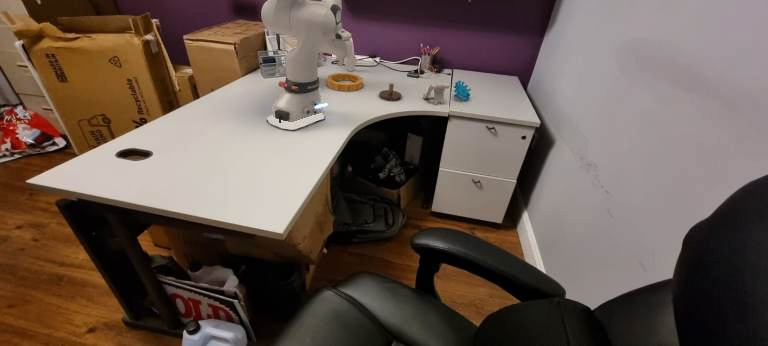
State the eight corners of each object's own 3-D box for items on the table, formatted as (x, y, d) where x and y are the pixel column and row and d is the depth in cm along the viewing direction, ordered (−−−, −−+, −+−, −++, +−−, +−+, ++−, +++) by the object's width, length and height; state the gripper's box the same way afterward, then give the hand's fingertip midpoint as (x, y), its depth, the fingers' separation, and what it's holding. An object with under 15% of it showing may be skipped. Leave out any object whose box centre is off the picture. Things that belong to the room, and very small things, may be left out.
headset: (357, 71, 173) (359, 36, 163) (345, 72, 170) (345, 36, 160) (344, 60, 187) (344, 27, 177) (332, 61, 185) (332, 27, 174)
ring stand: (395, 102, 142) (396, 89, 139) (375, 97, 146) (376, 84, 142) (404, 96, 149) (406, 83, 146) (385, 90, 153) (386, 78, 150)
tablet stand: (439, 96, 152) (442, 79, 147) (447, 103, 146) (451, 85, 141) (422, 98, 149) (425, 80, 144) (430, 104, 143) (433, 86, 138)
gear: (459, 100, 146) (453, 79, 147) (450, 105, 151) (444, 85, 152) (475, 99, 152) (469, 79, 153) (466, 104, 157) (460, 85, 158)
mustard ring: (350, 93, 146) (350, 87, 145) (320, 85, 152) (320, 79, 151) (368, 84, 159) (368, 78, 157) (340, 76, 165) (340, 70, 163)
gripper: (308, 29, 146) (310, 60, 154) (346, 37, 139) (346, 69, 147) (317, 27, 151) (318, 57, 159) (354, 35, 144) (353, 66, 151)
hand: (332, 63), depth 153 cm, fingers open, 8 cm apart
